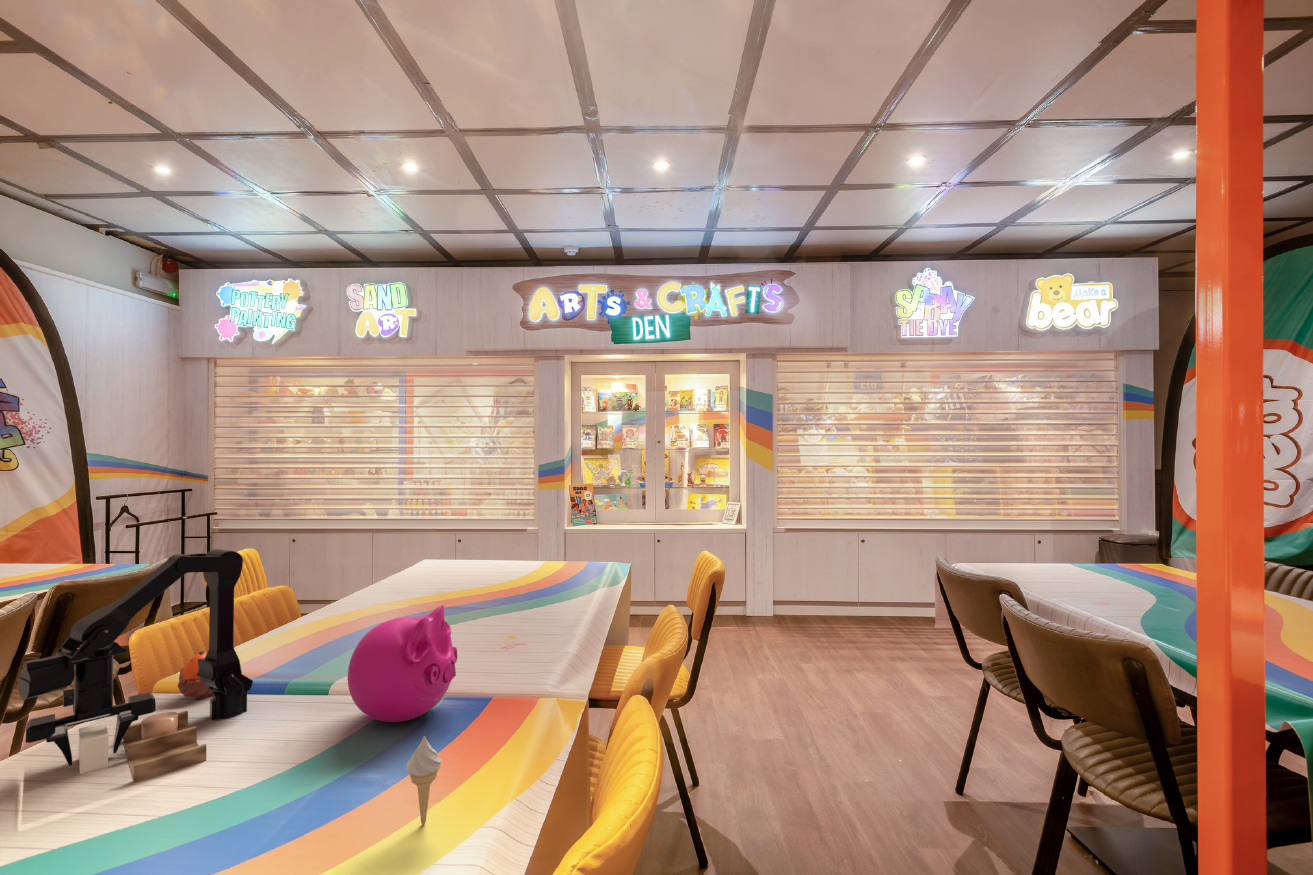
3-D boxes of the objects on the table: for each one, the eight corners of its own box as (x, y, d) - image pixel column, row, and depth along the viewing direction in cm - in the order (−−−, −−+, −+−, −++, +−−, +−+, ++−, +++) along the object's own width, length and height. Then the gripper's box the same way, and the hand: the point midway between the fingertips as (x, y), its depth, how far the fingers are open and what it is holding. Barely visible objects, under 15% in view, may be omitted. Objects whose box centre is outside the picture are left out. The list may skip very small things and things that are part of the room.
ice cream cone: (412, 815, 103) (412, 728, 104) (445, 813, 104) (445, 726, 104) (401, 836, 98) (401, 744, 98) (436, 834, 98) (436, 742, 99)
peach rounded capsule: (175, 731, 132) (175, 709, 133) (179, 740, 128) (179, 717, 128) (139, 741, 128) (139, 717, 128) (142, 751, 124) (143, 727, 124)
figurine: (436, 740, 130) (436, 625, 130) (326, 740, 130) (327, 625, 131) (471, 696, 153) (471, 598, 153) (378, 695, 154) (379, 598, 154)
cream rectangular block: (104, 756, 124) (105, 722, 124) (107, 770, 118) (108, 734, 118) (78, 763, 121) (78, 728, 121) (79, 778, 115) (80, 742, 116)
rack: (187, 727, 136) (187, 710, 136) (206, 764, 120) (206, 745, 120) (122, 744, 128) (122, 726, 128) (134, 786, 112) (134, 766, 112)
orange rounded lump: (190, 689, 158) (191, 646, 158) (236, 684, 161) (237, 642, 161) (168, 708, 146) (169, 661, 146) (219, 702, 149) (219, 657, 150)
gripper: (149, 658, 132) (148, 729, 132) (27, 682, 119) (26, 761, 119) (156, 671, 124) (155, 747, 124) (26, 699, 111) (25, 783, 111)
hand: (93, 758), depth 120 cm, fingers open, 6 cm apart
